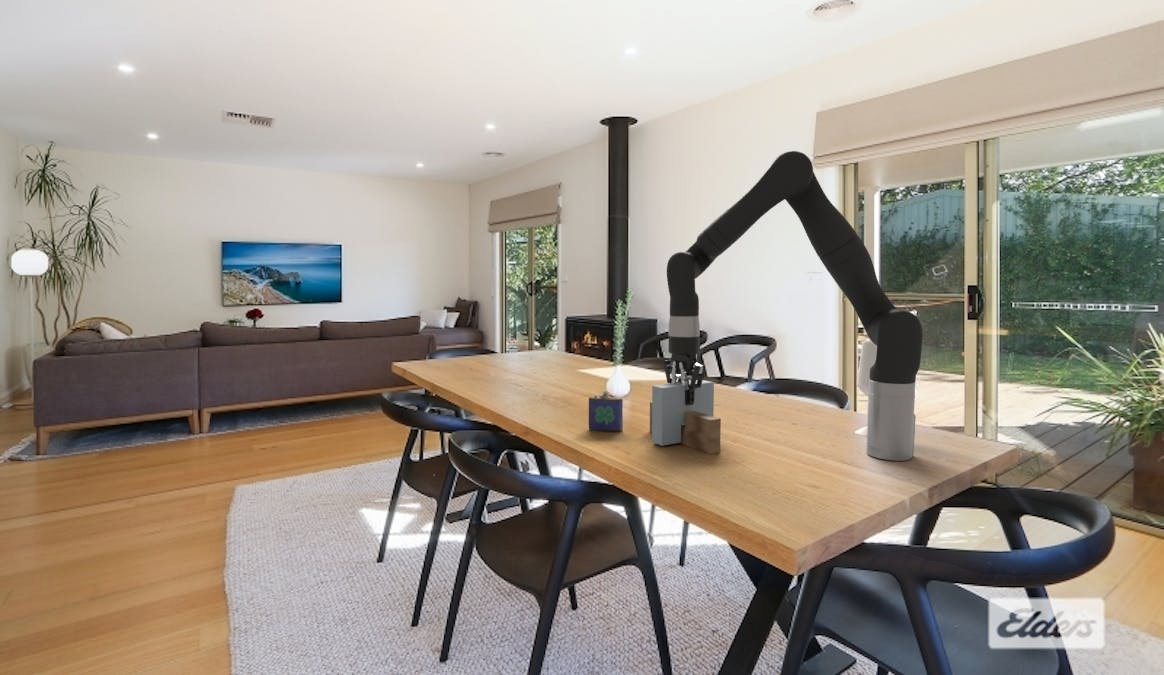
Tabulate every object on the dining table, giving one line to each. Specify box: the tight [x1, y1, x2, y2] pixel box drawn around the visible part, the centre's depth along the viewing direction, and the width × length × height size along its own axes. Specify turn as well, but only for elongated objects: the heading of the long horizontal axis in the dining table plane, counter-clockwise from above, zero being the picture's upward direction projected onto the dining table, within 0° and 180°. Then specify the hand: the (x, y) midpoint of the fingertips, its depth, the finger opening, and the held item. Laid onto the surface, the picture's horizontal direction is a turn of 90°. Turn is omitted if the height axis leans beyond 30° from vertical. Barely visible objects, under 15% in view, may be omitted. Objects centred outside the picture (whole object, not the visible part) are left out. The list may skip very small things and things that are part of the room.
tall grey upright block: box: [651, 379, 715, 447], centre depth 148 cm, size 4×16×14 cm, turn 119°
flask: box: [588, 391, 624, 433], centre depth 159 cm, size 9×3×11 cm, turn 80°
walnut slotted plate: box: [649, 401, 722, 455], centre depth 148 cm, size 24×3×8 cm, turn 29°
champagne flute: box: [854, 340, 877, 437], centre depth 154 cm, size 7×7×24 cm
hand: (683, 402), depth 148 cm, fingers closed on tall grey upright block, 4 cm apart
